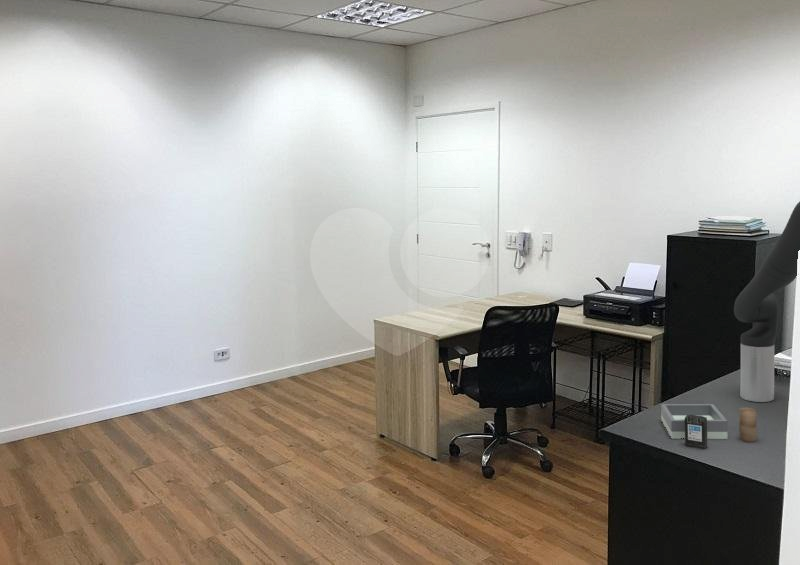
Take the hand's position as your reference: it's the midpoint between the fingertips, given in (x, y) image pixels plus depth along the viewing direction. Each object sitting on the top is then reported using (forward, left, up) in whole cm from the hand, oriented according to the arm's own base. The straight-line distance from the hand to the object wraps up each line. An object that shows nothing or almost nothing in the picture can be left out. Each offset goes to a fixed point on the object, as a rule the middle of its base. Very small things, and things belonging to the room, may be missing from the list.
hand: (798, 389), depth 168 cm
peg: (-5, -10, -15) cm, 19 cm away
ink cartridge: (0, -24, -15) cm, 29 cm away
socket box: (-12, -22, -15) cm, 29 cm away
